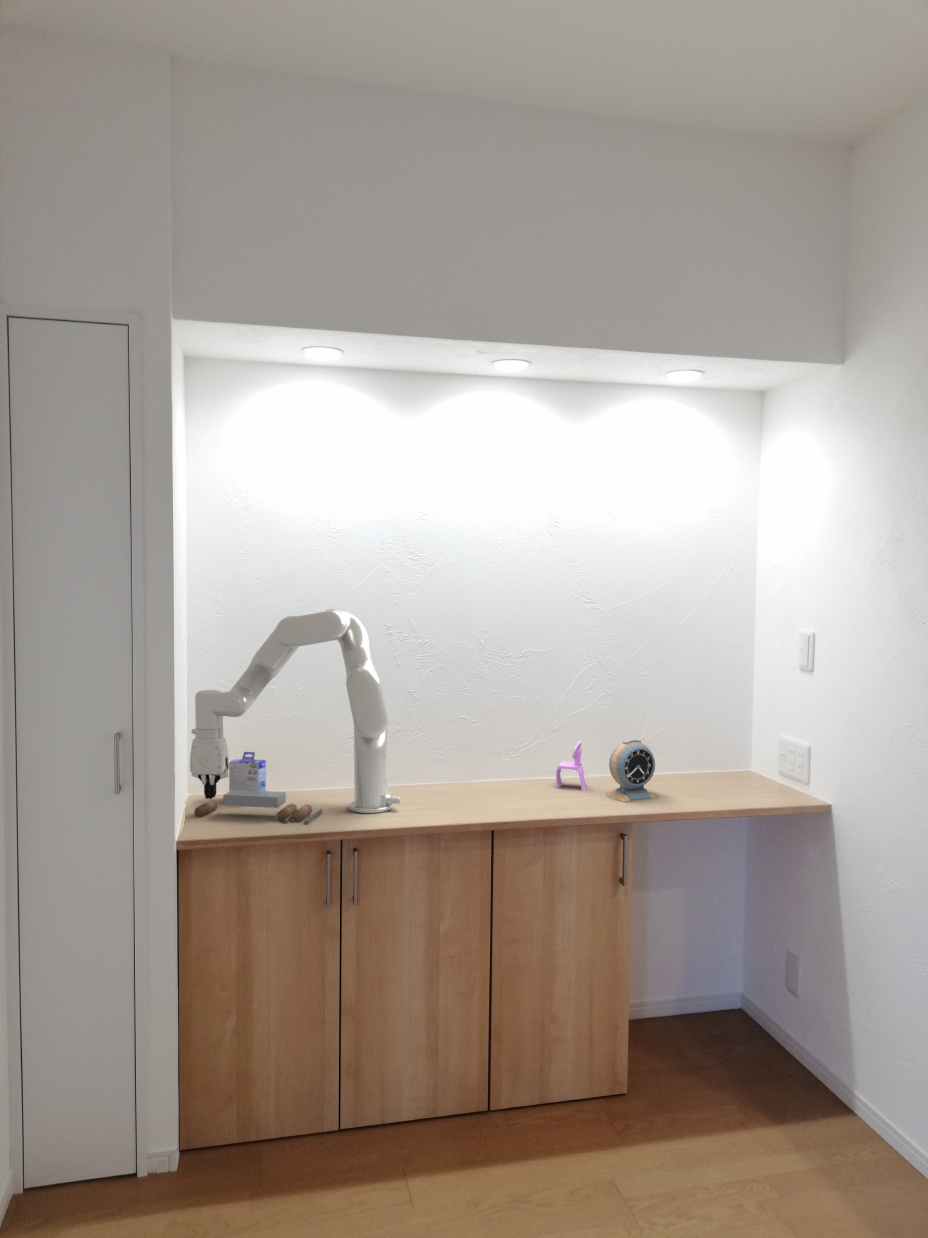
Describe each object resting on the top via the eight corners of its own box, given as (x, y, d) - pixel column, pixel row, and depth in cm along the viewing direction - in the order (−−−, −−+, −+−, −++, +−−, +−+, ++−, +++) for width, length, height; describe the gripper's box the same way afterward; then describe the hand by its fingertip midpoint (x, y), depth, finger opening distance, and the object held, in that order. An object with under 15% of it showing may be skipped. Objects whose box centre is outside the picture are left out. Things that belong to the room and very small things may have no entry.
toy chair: (560, 783, 287) (560, 737, 287) (587, 785, 284) (587, 739, 284) (554, 789, 280) (554, 742, 279) (581, 791, 277) (582, 744, 276)
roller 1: (217, 800, 255) (208, 799, 255) (204, 807, 247) (194, 806, 247) (216, 811, 255) (207, 809, 255) (203, 818, 247) (194, 816, 248)
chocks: (322, 812, 251) (322, 809, 251) (307, 824, 240) (307, 820, 239) (300, 811, 253) (299, 808, 252) (284, 823, 241) (284, 819, 241)
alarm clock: (621, 802, 262) (621, 744, 262) (603, 795, 271) (603, 738, 270) (660, 798, 268) (661, 740, 267) (641, 790, 277) (642, 735, 276)
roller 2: (288, 802, 251) (286, 812, 251) (277, 809, 243) (275, 820, 243) (297, 805, 250) (296, 815, 251) (287, 812, 243) (285, 823, 243)
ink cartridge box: (267, 799, 267) (266, 751, 266) (259, 803, 262) (258, 755, 261) (236, 797, 269) (236, 750, 268) (228, 802, 264) (227, 754, 263)
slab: (285, 802, 250) (285, 792, 250) (277, 808, 244) (277, 797, 244) (232, 800, 253) (232, 789, 253) (223, 805, 247) (223, 794, 247)
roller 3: (303, 820, 242) (300, 810, 242) (293, 824, 242) (290, 813, 242) (313, 813, 250) (310, 803, 250) (304, 816, 250) (300, 806, 250)
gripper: (178, 735, 248) (179, 799, 248) (228, 737, 245) (229, 802, 246) (191, 730, 255) (192, 793, 256) (239, 732, 252) (240, 795, 253)
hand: (210, 797), depth 251 cm, fingers closed
